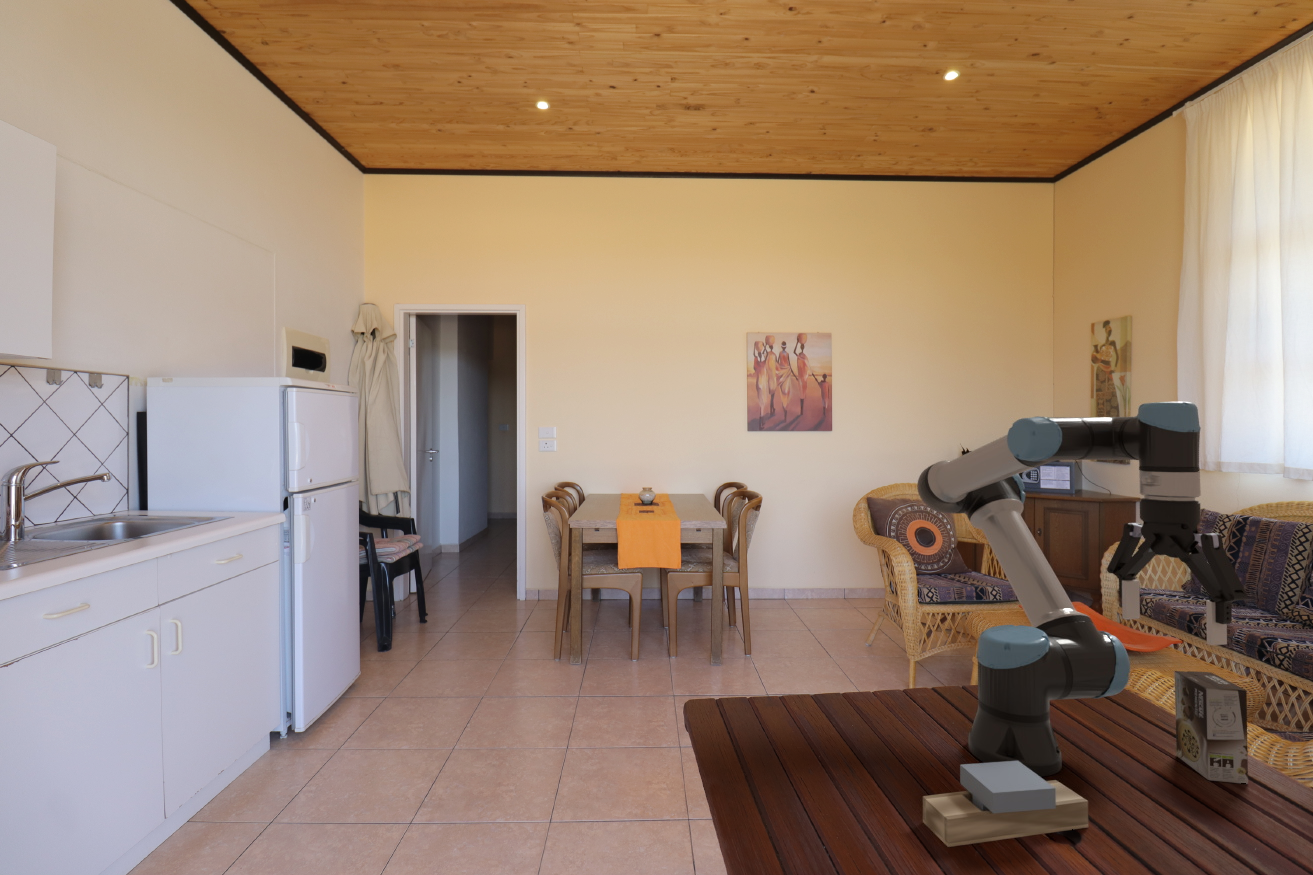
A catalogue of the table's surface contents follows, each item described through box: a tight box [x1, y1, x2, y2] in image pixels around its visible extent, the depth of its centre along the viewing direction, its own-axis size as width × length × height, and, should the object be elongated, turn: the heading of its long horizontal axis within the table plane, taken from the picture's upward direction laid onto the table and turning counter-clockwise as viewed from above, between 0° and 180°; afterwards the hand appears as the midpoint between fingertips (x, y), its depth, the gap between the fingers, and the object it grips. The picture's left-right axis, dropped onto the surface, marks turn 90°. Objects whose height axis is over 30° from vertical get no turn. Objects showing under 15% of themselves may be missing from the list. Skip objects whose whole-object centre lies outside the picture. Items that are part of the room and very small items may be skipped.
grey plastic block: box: [959, 761, 1056, 813], centre depth 95 cm, size 8×10×7 cm
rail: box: [922, 779, 1089, 848], centre depth 95 cm, size 6×24×4 cm, turn 100°
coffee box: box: [1174, 670, 1249, 785], centre depth 110 cm, size 9×6×16 cm
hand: (1171, 630), depth 98 cm, fingers open, 13 cm apart
